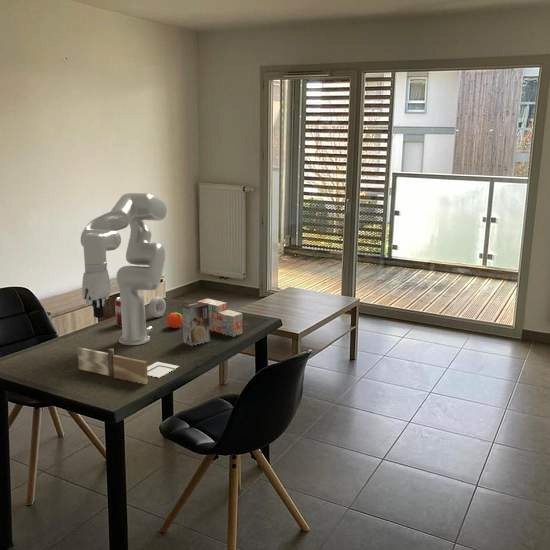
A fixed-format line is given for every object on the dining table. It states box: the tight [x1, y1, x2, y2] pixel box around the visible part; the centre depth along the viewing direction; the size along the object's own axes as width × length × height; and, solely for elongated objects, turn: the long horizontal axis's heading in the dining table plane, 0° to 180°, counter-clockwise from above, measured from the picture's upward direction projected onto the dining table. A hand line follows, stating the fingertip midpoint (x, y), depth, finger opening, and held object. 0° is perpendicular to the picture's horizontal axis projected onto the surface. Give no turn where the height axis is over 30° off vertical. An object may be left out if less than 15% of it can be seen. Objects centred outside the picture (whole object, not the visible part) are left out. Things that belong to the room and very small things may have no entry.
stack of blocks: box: [197, 298, 243, 338], centre depth 272 cm, size 21×6×12 cm, turn 50°
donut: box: [147, 296, 167, 319], centre depth 292 cm, size 10×4×10 cm, turn 145°
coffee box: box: [181, 301, 211, 347], centre depth 257 cm, size 9×6×16 cm
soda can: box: [114, 297, 122, 328], centre depth 280 cm, size 7×7×12 cm
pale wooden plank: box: [77, 346, 110, 377], centre depth 226 cm, size 14×1×8 cm, turn 63°
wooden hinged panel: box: [107, 348, 149, 385], centre depth 219 cm, size 2×16×10 cm, turn 63°
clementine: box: [166, 311, 183, 329], centre depth 277 cm, size 8×7×7 cm
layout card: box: [147, 361, 180, 379], centre depth 229 cm, size 12×10×1 cm
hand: (98, 317), depth 228 cm, fingers closed
